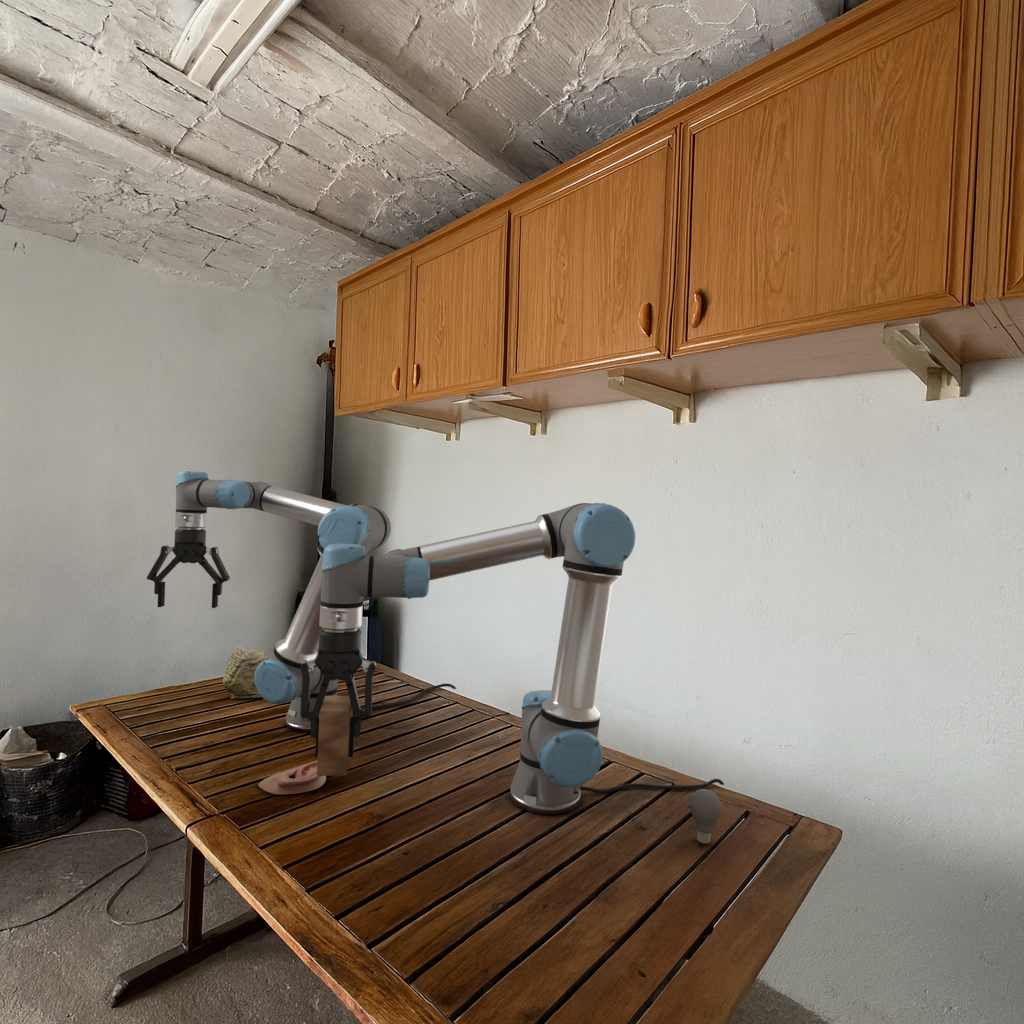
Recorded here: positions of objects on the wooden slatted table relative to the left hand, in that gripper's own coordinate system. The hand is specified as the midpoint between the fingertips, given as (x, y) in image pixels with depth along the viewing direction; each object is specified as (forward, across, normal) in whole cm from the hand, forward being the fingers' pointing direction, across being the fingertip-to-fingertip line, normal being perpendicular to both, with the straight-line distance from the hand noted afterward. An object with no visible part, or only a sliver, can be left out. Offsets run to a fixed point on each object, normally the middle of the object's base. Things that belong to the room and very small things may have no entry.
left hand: (188, 607), depth 171 cm
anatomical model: (+32, +35, -39) cm, 61 cm away
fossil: (+32, +12, +24) cm, 42 cm away
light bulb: (+32, +116, -69) cm, 139 cm away
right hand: (+15, +46, -63) cm, 80 cm away
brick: (+17, +46, -64) cm, 81 cm away
